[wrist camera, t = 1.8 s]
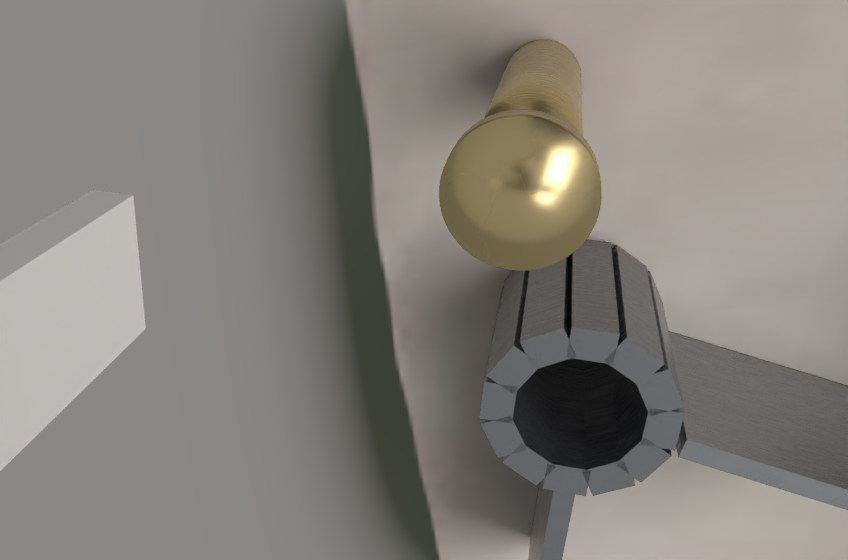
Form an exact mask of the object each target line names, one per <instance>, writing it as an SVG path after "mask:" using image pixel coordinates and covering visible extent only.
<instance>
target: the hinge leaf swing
mask: <svg viewBox="0 0 848 560" xmlns="http://www.w3.org/2000/svg"><path fill="white" fill-rule="evenodd" d="M668 332H669V337H670V341H671V346H672V351H673V356H674V360H675V365H676V370H677V375H678V379H679V384H680V389H681V394H682V398H683V403H684V407H683V408H684V412H685V414H684V418H683V422H682V426H681V429H680V433H679V437H678V441H677V444H676V447H677V452H678V457H680V458H683V459H687V460H690V461H693V462H696V463H699V464H702V465H706V466H709V467H712V468H715V469H718V470H722V471H725V472H728V473H731V474H734V475H738V476H741V477H744V478H747V479H750V480H753V481H757V482H760V483H763V484H766V485H769V486H773V487H776V488H779V489H782V490H785V491H789V492H792V493H795V494H798V495H801V496H804V497H808V498H811V499H814V500H817V501H820V502H824V503H827V504H830V505H833V506H836V507H839V508H843V509H846V510H848V386H846V385H843V384H839V383H836V382H833V381H830V380H826V379H823V378H820V377H816V376H813V375H810V374H807V373H803V372H800V371H797V370H794V369H790V368H787V367H784V366H781V365H777V364H774V363H771V362H767V361H764V360H761V359H758V358H754V357H751V356H748V355H745V354H741V353H738V352H735V351H732V350H728V349H725V348H722V347H719V346H715V345H712V344H709V343H705V342H702V341H699V340H696V339H692V338H689V337H686V336H683V335H679V334H676V333H673V332H670V331H668Z"/></svg>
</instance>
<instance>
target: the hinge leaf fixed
mask: <svg viewBox="0 0 848 560" xmlns="http://www.w3.org/2000/svg"><path fill="white" fill-rule="evenodd" d="M683 407H684V403H683V398H682V394H681V389H680V384H679V379H678V375H677V370H676V365H675V360H674V356H673V351H672V346H671V341H670V337H669V332H668V327H667V322H666V317H665V313H664V308H663V303H662V300H661V298H660V295H659V293H658V290H657V288H656V285H655V283H654V280H653V278H652V275H651V273H650V271H649V272H647V268H646V266H645V265H643V264H642V263H641V262H639V261H638V260H637V259H635V258H634V257H632V256H631V255H630V254H628V253H627V252H626V251H624V250H623V249H621V248H620V247H619V246H617V245H616V247H615V248H614V249H613V250H612V248H611V243H609V242H601V241H594V240H585V241H584V242H583V244H582V245H581V246H580V247H579V248H578V249H577V250H576V251H574V252H573V253H572V254H570V255H569V256H568V257H566V258H565V259H563V260H561V261H559V262H557V263H555V264H553V265H550V266H547V267H544V268H540V269H534V270H524V271H517V270H513V272H512V273H511V274H510V275H509V276H508V277H507V279H506V280H505V284H504V285H503V288H502V293H501V298H500V303H499V308H498V313H497V318H496V323H495V328H494V333H493V338H492V343H491V348H490V353H489V358H488V363H487V368H486V373H485V378H484V384H483V392H482V400H481V408H480V416H479V418H481V424H480V425H481V426H482V428H483V430H484V432H485V434H486V436H487V438H488V440H489V442H490V444H491V446H492V448H493V450H494V452H495V454H496V455H497V457H498V458H500V457H503V461H502V463H503V464H505V465H506V466H508V467H509V468H511V469H512V470H514V471H515V472H517V473H518V474H519V475H521V476H522V477H524V478H525V479H527V480H528V481H530V482H531V483H533V484H534V485H536V486H537V485H538V484H539V483H540V485H539V491H538V496H537V502H536V508H535V514H534V519H533V525H532V531H531V536H530V548H529V560H562V556H563V551H564V546H565V541H566V536H567V531H568V526H569V521H570V516H571V512H572V507H573V502H574V497H575V494H577V495H583V496H586V493H587V488H588V486H589V488H590V490H591V493H592V495H593V496H594V495H598V494H602V493H606V492H610V491H614V490H618V489H623V488H627V487H631V486H635V482H634V478H635V479H637V480H638V481H640V482H642V481H643V480H644V479H645V478H647V477H648V476H649V475H650V474H651V473H652V472H653V471H655V470H656V469H657V468H658V467H659V466H660V465H661V464H663V463H664V462H665V461H666V460H667V459H668V458H669V457H671V451H670V450H675V448H676V444H677V441H678V437H679V433H680V429H681V426H682V422H683V418H684V414H685V412H684V408H683Z"/></svg>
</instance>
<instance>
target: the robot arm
mask: <svg viewBox="0 0 848 560" xmlns="http://www.w3.org/2000/svg"><path fill="white" fill-rule="evenodd" d="M145 329H146V327H145V317H144V306H143V295H142V285H141V274H140V263H139V252H138V241H137V232H136V220H135V209H134V198H133V195H128V194H121V193H114V192H106V191H98V190H92V191H91V192H89V193H87V194H85V195H84V196H82V197H80V198H79V199H77V200H75V201H74V202H72V203H70V204H68V205H67V206H65V207H63V208H61V209H60V210H58V211H56V212H54V213H53V214H51V215H49V216H48V217H46V218H44V219H42V220H41V221H39V222H37V223H36V224H34V225H32V226H31V227H29V228H27V229H25V230H24V231H22V232H20V233H18V234H17V235H15V236H13V237H12V238H10V239H8V240H6V241H5V242H3V243H1V244H0V471H1V470H2V469H3V468H4V467H5V466H6V465H7V464H8V463H9V462H10V461H11V460H12V459H13V458H14V457H15V456H16V455H17V454H18V453H19V452H20V451H21V450H22V449H23V448H24V447H25V446H26V445H27V444H28V443H29V442H30V441H31V440H32V439H33V438H34V437H36V436H37V434H38V433H40V432H41V431H42V430H43V429H44V428H45V427H46V426H47V425H48V424H49V423H50V422H51V421H52V420H53V419H54V418H55V417H56V416H57V415H58V414H59V413H60V412H61V411H62V410H63V409H64V408H65V407H66V406H67V405H68V404H69V403H70V402H71V401H72V400H73V399H74V398H75V397H76V396H77V395H78V394H79V393H80V392H81V391H83V390H84V389H85V388H86V387H87V386H88V385H89V384H90V383H91V381H93V380H94V378H96V377H97V376H98V375H99V374H100V373H101V372H102V371H103V370H104V369H105V368H106V367H107V366H108V365H109V364H110V363H111V362H112V361H113V360H114V359H115V358H116V357H117V356H118V355H119V354H120V353H121V352H122V351H123V350H124V349H125V348H126V347H128V346H129V345H130V343H131V342H132V341H133V340H135V339H136V338H137V337H138V336H139V335H140V334H141V333H142V332H143V331H144V330H145Z"/></svg>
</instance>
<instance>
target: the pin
mask: <svg viewBox="0 0 848 560" xmlns="http://www.w3.org/2000/svg"><path fill="white" fill-rule="evenodd" d="M439 199H440V207H441V211H442V215H443V218H444V220H445V223H446V225H447V227H448V229H449V231H450V232H451V234H452V235H453V237H454V238H455V239H456V241H457V242H458V243H459V244H460V245H461V246H462V247H463V248H464V249H465V250H466V251H467V252H469V253H470V254H471V255H472V256H474V257H476V258H477V259H479V260H481V261H483V262H485V263H487V264H489V265H492V266H495V267H498V268H502V269H507V270H517V271H524V270H534V269H540V268H544V267H547V266H550V265H553V264H555V263H557V262H559V261H561V260H563V259H565V258H566V257H568V256H569V255H570V254H572V253H573V252H574V251H576V250H577V249H578V248H579V247H580V246H581V245H582V244H583V242H584V241H585V240H586V239H587V237H588V236H589V234H590V233H591V231H592V229H593V228H594V225H595V223H596V221H597V218H598V214H599V211H600V205H601V181H600V173H599V167H598V164H597V161H596V158H595V155H594V153H593V151H592V149H591V147H590V146H589V144H588V143H587V141H586V140H585V139H584V138H583V136H582V85H581V69H580V65H579V63H578V60H577V58H576V57H575V55H574V54H573V53H572V52H571V51H570V50H569V49H568V48H567V47H566V46H564V45H563V44H560V43H558V42H555V41H552V40H537V41H532V42H530V43H527V44H526V45H524V46H522V47H521V48H519V49H518V50H517V51H516V52H515V53H514V55H513V56H512V57H511V59H510V60H509V62H508V65H507V67H506V69H505V71H504V74H503V76H502V78H501V81H500V83H499V85H498V87H497V90H496V92H495V94H494V97H493V99H492V101H491V103H490V106H489V108H488V110H487V112H486V115H485V117H484V119H482V120H480V121H479V122H477V123H476V124H475V125H473V126H472V127H471V128H470V129H468V130H467V131H466V132H465V133H464V134H463V135H462V137H461V138H460V139H459V140H458V142H457V143H456V145H455V146H454V148H453V150H452V152H451V154H450V156H449V158H448V160H447V162H446V164H445V166H444V169H443V172H442V175H441V180H440V186H439Z"/></svg>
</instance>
